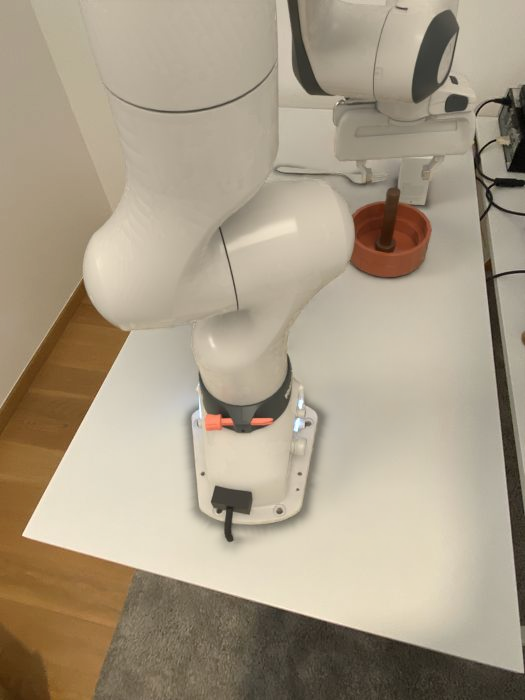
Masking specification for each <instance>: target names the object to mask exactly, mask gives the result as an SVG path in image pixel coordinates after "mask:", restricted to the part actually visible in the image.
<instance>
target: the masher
mask: <svg viewBox="0 0 525 700" xmlns="http://www.w3.org/2000/svg"><path fill="white" fill-rule="evenodd" d="M400 193H401V191H400V190H399V189H398V187H392V186H391V187H389V188H388V189H387V190H386V196H385V200H384V201H385V208H384V215H383V222H382V229H381V235H380V237H378V238H377V239H376V243H375V250H376V251H380V252H386V253H392V252H393V251H394V250H395V244H396V241H395V239H394V238H393V233H394V227H395V221H396V216H397V210H398V204H399V198H400Z"/></svg>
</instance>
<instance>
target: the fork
mask: <svg viewBox="0 0 525 700" xmlns="http://www.w3.org/2000/svg"><path fill="white" fill-rule="evenodd" d="M276 171H278V172H279V173H288V174H313V175H314V174H320V175H321V174H325V175H326V174H337V175H343V176H345V177H347V178H348V179H350V180H351V181H352V182H353V183H355V184H363V183H362V173H348V172H345V171H339V170H322V169H312V168H311V169H310V168H301V167H294V166H279V167H277V169H276ZM389 174H390V172H380V173H372V182H371V183H376V182H382V181H387V180H388V176H389Z"/></svg>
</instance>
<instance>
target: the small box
mask: <svg viewBox="0 0 525 700" xmlns="http://www.w3.org/2000/svg"><path fill="white" fill-rule="evenodd" d="M432 158H433V156H428V157H410V158H400V166H399V173H398V177H397V188H398V189H399V190H400V191H401V193H400V198H399V202H402V203H405V204H408V205H411V206H426V200H427V196H428V191H429V187H430V184H431V183H430V182H431V180H422V177H421V171H422V166H423V165H427V164H428V163H429V162H430V161H431V159H432Z"/></svg>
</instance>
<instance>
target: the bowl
mask: <svg viewBox="0 0 525 700" xmlns="http://www.w3.org/2000/svg"><path fill="white" fill-rule="evenodd" d="M385 201H386V200H380V201H374V202H371V203H366V204H365V205H363V206H361V207H359V208H357V209H356V211H354V212H353V214H352V217H353V221H354V227H355V242H354V248H353V252H352V256H351V259H350V262H351V263H352V264H353V265H354V266H355V267H356V268H357V269H359V270H360V271H363V272H364V273H367V274H369V275H372V276H376V277H380V278H381V277H382V278H397V277H401V276H404V275H408V274H410V273H412V272H414V271H415V270H417V269H418V268H420V266H421V265H422V264H423V263H424V261H425V259H426V255H427V252H428V248H429V243H430V239H431V236H432V231H433V228H432V224H431V220H430V219H429V218H428V217H427V215H426V214H425V213H424V212H423V211H421V210H420V209H418V208H417V207H415V206H414V205H409V204H405V203H402V202H399V204H398V210H397V216H396V221H395V227H394V233H393V238H394V239H395V241H396V244H395V250H394V251H393V252H392V253H386V252H380V251H376V250H375V243H376V239H377V238H378V237H380V235H381V229H382V222H383V215H384V208H385Z"/></svg>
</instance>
